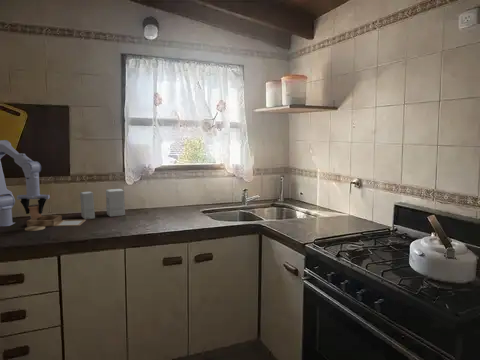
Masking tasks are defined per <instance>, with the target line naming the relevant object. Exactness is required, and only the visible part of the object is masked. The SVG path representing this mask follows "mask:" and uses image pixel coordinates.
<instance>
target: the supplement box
mask: <svg viewBox="0 0 480 360" xmlns="http://www.w3.org/2000/svg"><path fill="white" fill-rule="evenodd" d="M125 200H126V199H125V190H123V189H122V188H113V189H111V188H110V189H105V203H106V215H107V216H108V217H119V216H120V217H121V216H125V215H126V205H125V204H126V201H125Z"/></svg>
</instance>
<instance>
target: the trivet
mask: <svg viewBox="0 0 480 360" xmlns="http://www.w3.org/2000/svg"><path fill="white" fill-rule="evenodd" d="M44 229H46V226H30V227H27V226H26V227H25V228H24V231H27V232H33V231H34V232H35V231H42V230H44Z"/></svg>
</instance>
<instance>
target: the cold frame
mask: <svg viewBox="0 0 480 360" xmlns="http://www.w3.org/2000/svg"><path fill="white" fill-rule="evenodd" d="M62 220H63V216H62V215H61V214H60V215H41V217H39V218H34V219H32V218H31V217H30V219H28V220H26V228H27V227H30V226H45V227H56V226H55V225H56V224H58V223H59V222H61V221H62Z"/></svg>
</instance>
